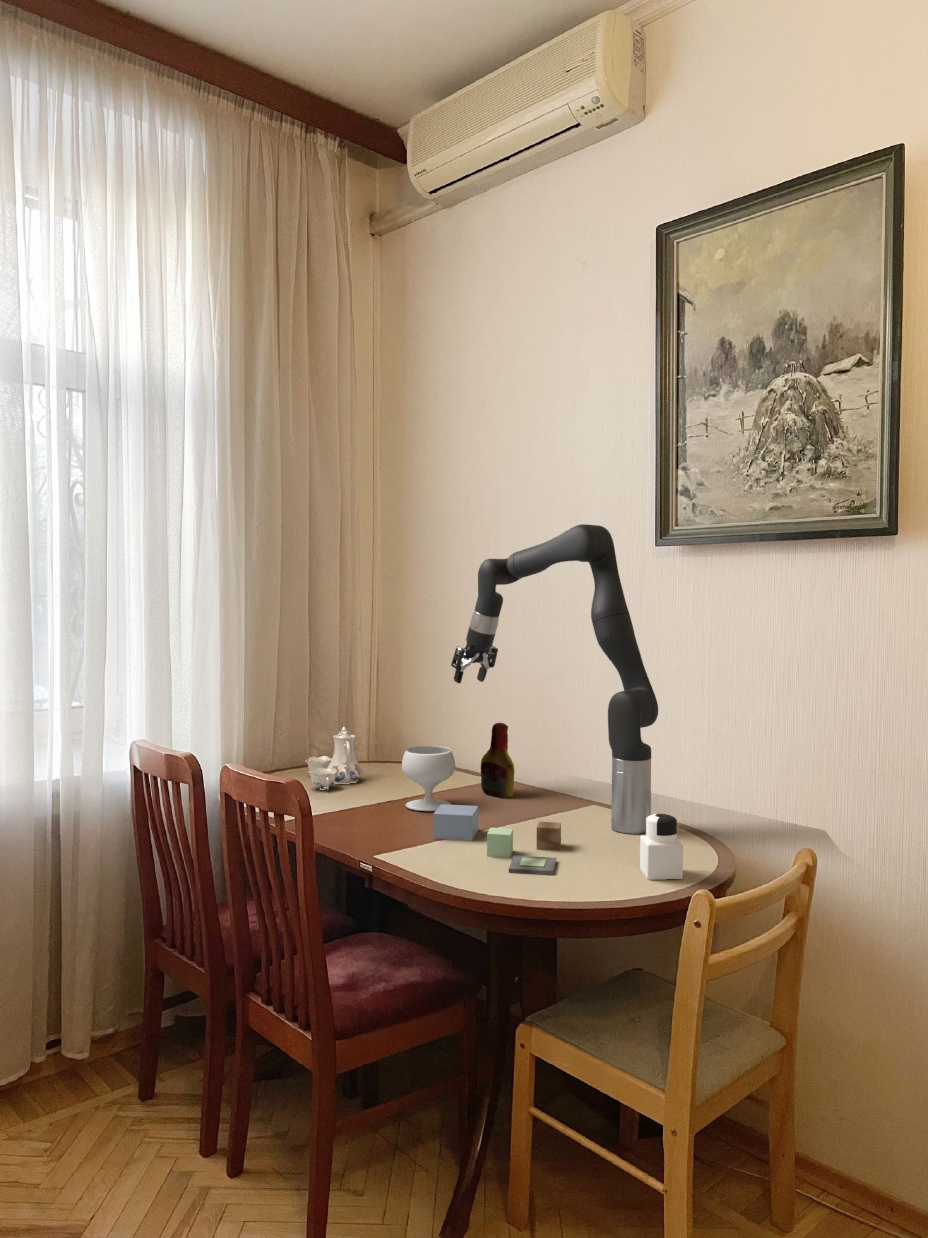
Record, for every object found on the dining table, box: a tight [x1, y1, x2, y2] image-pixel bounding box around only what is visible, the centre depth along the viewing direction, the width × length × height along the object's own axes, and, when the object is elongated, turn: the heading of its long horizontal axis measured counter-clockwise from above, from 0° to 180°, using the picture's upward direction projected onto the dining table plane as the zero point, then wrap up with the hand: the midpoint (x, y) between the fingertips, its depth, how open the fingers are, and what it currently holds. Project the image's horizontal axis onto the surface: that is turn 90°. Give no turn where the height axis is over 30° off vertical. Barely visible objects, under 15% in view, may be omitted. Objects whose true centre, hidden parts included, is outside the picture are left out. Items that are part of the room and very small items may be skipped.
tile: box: [508, 854, 557, 876], centre depth 193 cm, size 9×9×1 cm
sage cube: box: [486, 827, 514, 858], centre depth 203 cm, size 5×5×5 cm
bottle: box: [480, 722, 516, 799], centre depth 256 cm, size 12×6×20 cm, turn 36°
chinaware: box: [304, 726, 363, 791], centre depth 272 cm, size 28×17×17 cm, turn 17°
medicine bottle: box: [639, 813, 684, 881], centre depth 189 cm, size 7×7×12 cm
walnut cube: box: [536, 821, 562, 852], centre depth 208 cm, size 5×5×5 cm
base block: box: [432, 804, 479, 842], centre depth 217 cm, size 9×9×6 cm
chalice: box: [401, 745, 456, 812], centre depth 243 cm, size 14×14×15 cm
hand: (468, 681), depth 261 cm, fingers open, 8 cm apart
